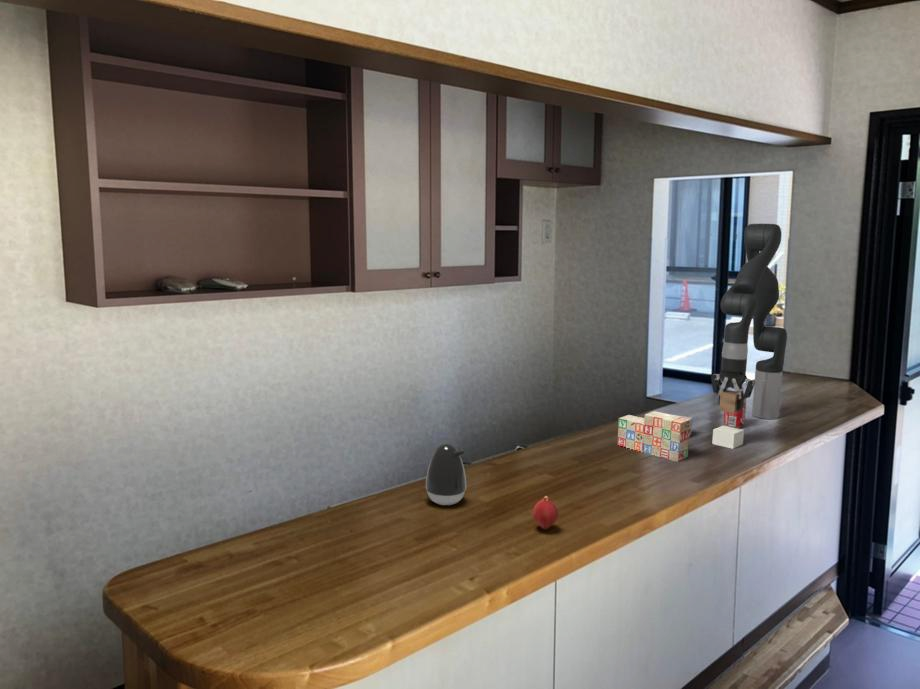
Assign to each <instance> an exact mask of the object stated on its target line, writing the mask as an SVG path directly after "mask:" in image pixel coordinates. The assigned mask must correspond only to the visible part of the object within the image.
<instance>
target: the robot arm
mask: <svg viewBox="0 0 920 689" xmlns="http://www.w3.org/2000/svg"><path fill="white" fill-rule="evenodd" d="M743 234H744V235H743V238H744V243H743V244H744V248H745V254H746V260H747V261H746V262H745V263H744V264H743V265H742V266H741V267H740V269H739V271H738V273H737V276H736V279H735V281H734V283H733V284H732V285H731V286H729V288H728V290H726V292H724V294H723V296H722V298H721V300H720V310H721V312H722V314H723V313H724V314H725V315H727V316H738V317H742V318H741V320H740V321H736V322H729V323H727V324H726V325H725V327H724V335H723V336H724V337H723V345H722V352H721V365H720V373H712V374H711V375H710V379H711V380H710V381H711V385H712V391H713V393H714V394H717V395H718V403H717V405H718V406H720V393H721V392H724V391H727V390H729V388H731V389H733V390H734V391H735V392H736V393H737V394H738V399H737V411H740V410H741V409H743V405H744V399H745V398H746V399H749V398H751V395H753V397H752V408H751V415H752V416H753V417H754V418H759V419H766V420H774V419H775V420H776V419H778V418H779V416H780V415H779V414H780V404H781V396H782V395H781V394H782V383H783V372H784V362H785V354H786V348H787V343H788V342H787V340H788V332H787V330H786V328H784V327H778V326H777V327H776V326H767V325H766V324H765V320H766V319H767V317H768V315H769V314H770V313H771V312H772V310H773V309H774V308H775V306H776V305H777V303H778V302H779V299H780V290H779V289H780V288H779V286H780V285H779V280H778V278H777V276H776V275H775V273H773V271H772V270H771V269H770V268H769V264H770V263H771V262H772V260H773V258H774V256H775V255H776V253H777V252H778V250H779V248H780V247H781V246H780V245H781V242H782V228H781V227H780V225H779V224H776V223H750V224H748V225H747V226H746V227H745V229H744V232H743ZM752 322H753V323H752ZM751 323H752V326H753V329H752V330H753V331H752V334H753V335H752V336H753V337H752V338H753V346H754V348H755V350H757V351H760V352H765V353H773V355H772V356H771V357H770V358H767V359H762V360H761V359H760V360H759V361H758V360H757V362H756V363H755V372H754V379H749V378H748V377H747V366H748V365H747V363H748V351H749V349H748V348H749V346H748V345H749V344H748V343H749V330H750V326H751ZM719 380H721V381H722V383H721V385H720V382H719ZM743 384H745V386H746V387H745V391H744V386H743ZM752 393H753V394H752Z"/></svg>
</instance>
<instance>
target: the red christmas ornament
mask: <svg viewBox="0 0 920 689" xmlns="http://www.w3.org/2000/svg"><path fill="white" fill-rule="evenodd" d="M532 518H533V520H534V522H535V523H536V524H537V525H538V526H539V527H540V528H541V529H543V530H548V529H549V528H550V527H552V526H553V525H554V524H555V523H557V520H558V518H559V511H558V508H557V506H556V504H555V503H554V502H553V501H552V500H550V498H549V496H547V495H545V496H544V497H543V498H542V499H540V500H539V501H537V503H535V505H534V507H533V510H532Z"/></svg>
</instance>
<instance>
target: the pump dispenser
mask: <svg viewBox="0 0 920 689" xmlns="http://www.w3.org/2000/svg"><path fill="white" fill-rule="evenodd" d="M465 454H466V451H465V449H461V450H458V449H457V447H456V446H455V445H453V444H451V443H448V442H445V443H442V444H440V445H438V447H437V448H436V449H435V450H434V453H433V454H432V456H431V459H430V462H429V465H428V469H427V473H426V479H425V490H426V492H427V496H428V498H429V499H430V500H431V501H432V502H434V503H435V504H437V505H440V506H446V505H447V506H453V505H455V504H457V503H459V502H460V501H461V500H462V499H463V497H464V496H465V492H466V490H467V479H466V478H467V477H466V471H465V466H464V464H463V460H462V457H461V456H463V455H465Z"/></svg>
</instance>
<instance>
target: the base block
mask: <svg viewBox="0 0 920 689" xmlns="http://www.w3.org/2000/svg"><path fill="white" fill-rule="evenodd" d="M744 434H745V429H741V428H733V427H728V426H726V425H725V424H723V425H720V426H719V427H716V428H714V429H712V442H711V443H712V445H715V446H719V447H724V448H729V449H732V450H734V449H735V448H738V447H740V446H742V445H744Z"/></svg>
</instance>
